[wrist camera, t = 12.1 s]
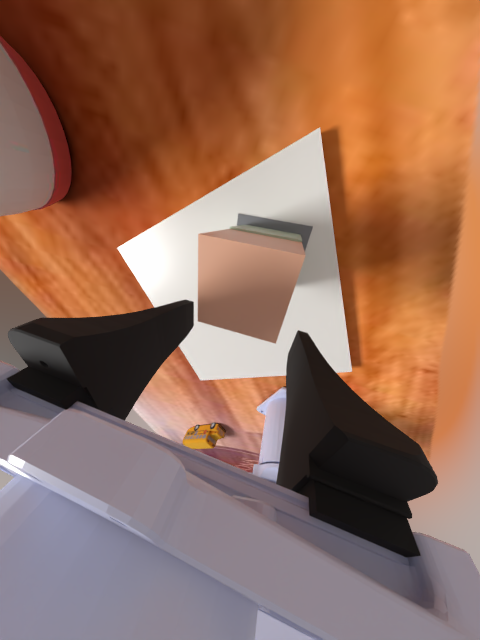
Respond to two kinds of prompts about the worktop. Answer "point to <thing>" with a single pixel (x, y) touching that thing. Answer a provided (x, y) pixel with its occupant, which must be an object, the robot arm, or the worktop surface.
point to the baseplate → (267, 212)
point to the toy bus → (203, 436)
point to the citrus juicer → (29, 140)
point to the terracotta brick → (246, 281)
